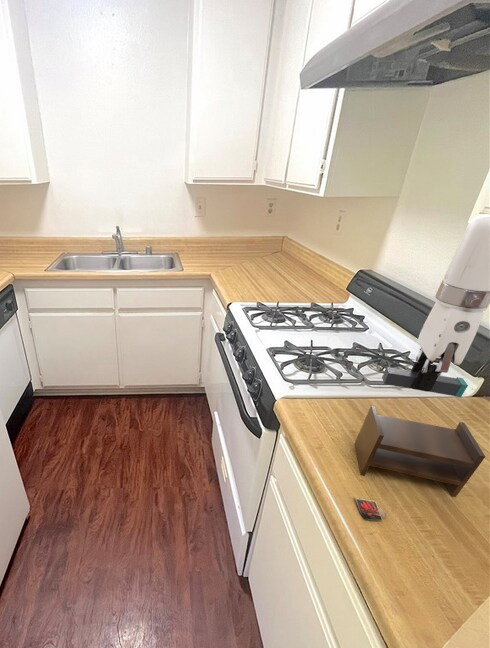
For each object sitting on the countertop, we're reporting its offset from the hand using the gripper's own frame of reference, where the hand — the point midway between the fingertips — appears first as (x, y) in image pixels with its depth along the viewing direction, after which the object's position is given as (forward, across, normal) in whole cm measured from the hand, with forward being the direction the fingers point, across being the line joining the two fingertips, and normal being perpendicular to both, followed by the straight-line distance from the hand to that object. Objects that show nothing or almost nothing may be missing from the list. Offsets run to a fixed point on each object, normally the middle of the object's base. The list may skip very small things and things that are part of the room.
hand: (418, 384), depth 69 cm
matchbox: (+17, -20, +6) cm, 27 cm away
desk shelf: (+17, -6, -2) cm, 18 cm away
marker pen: (0, 0, 0) cm, 0 cm away
